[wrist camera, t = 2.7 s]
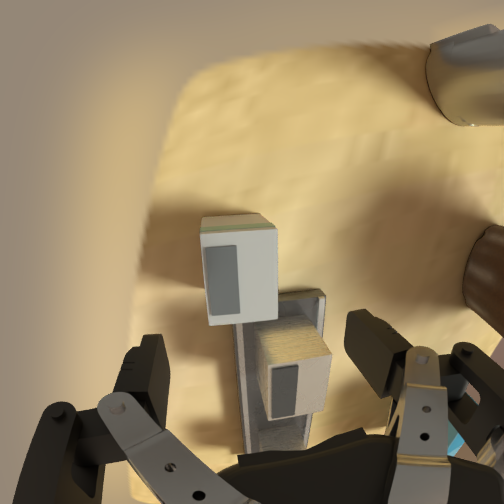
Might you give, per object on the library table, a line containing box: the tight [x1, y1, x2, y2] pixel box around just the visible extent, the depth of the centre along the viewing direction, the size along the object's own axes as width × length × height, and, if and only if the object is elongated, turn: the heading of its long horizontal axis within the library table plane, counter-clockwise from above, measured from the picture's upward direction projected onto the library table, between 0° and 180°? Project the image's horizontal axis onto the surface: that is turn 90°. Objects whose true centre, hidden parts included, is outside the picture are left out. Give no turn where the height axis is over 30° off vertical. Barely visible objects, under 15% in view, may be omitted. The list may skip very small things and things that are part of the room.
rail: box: [232, 289, 332, 454], centre depth 24 cm, size 24×8×8 cm, turn 2°
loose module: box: [200, 213, 278, 326], centre depth 20 cm, size 6×5×6 cm
